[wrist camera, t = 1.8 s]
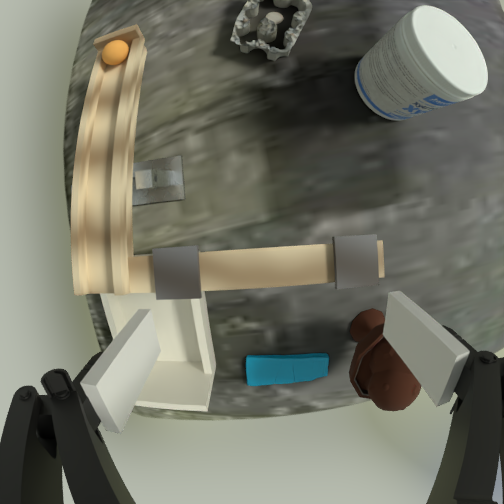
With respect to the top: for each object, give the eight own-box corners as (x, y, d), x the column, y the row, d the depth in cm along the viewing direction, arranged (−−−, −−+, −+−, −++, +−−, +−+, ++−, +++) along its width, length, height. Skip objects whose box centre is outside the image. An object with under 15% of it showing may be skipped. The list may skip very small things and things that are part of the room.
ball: (110, 51, 21) (98, 41, 18) (133, 43, 21) (123, 32, 18) (108, 71, 22) (95, 62, 19) (132, 64, 22) (120, 54, 19)
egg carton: (258, -5, 24) (259, -22, 20) (312, 12, 24) (318, -4, 20) (225, 49, 26) (222, 33, 22) (284, 68, 27) (288, 54, 23)
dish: (105, 257, 32) (66, 281, 23) (199, 250, 32) (179, 277, 23) (133, 361, 37) (110, 401, 28) (216, 364, 36) (207, 411, 27)
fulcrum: (101, 170, 30) (63, 170, 22) (182, 156, 29) (159, 148, 22) (104, 209, 31) (68, 218, 23) (185, 198, 31) (163, 205, 23)
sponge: (325, 385, 37) (332, 358, 35) (245, 387, 37) (245, 360, 35) (323, 378, 38) (330, 351, 36) (245, 380, 38) (245, 352, 36)
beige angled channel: (109, 57, 23) (95, 39, 19) (332, 31, 22) (340, 9, 18) (90, 297, 22) (65, 303, 18) (378, 281, 22) (400, 286, 18)
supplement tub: (386, 135, 28) (464, 116, 14) (336, 75, 27) (387, 18, 12) (427, 100, 27) (500, 75, 12) (382, 45, 25) (439, -5, 11)
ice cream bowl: (377, 363, 37) (417, 431, 22) (317, 346, 36) (344, 428, 21) (413, 304, 34) (473, 360, 20) (354, 279, 33) (411, 342, 19)
